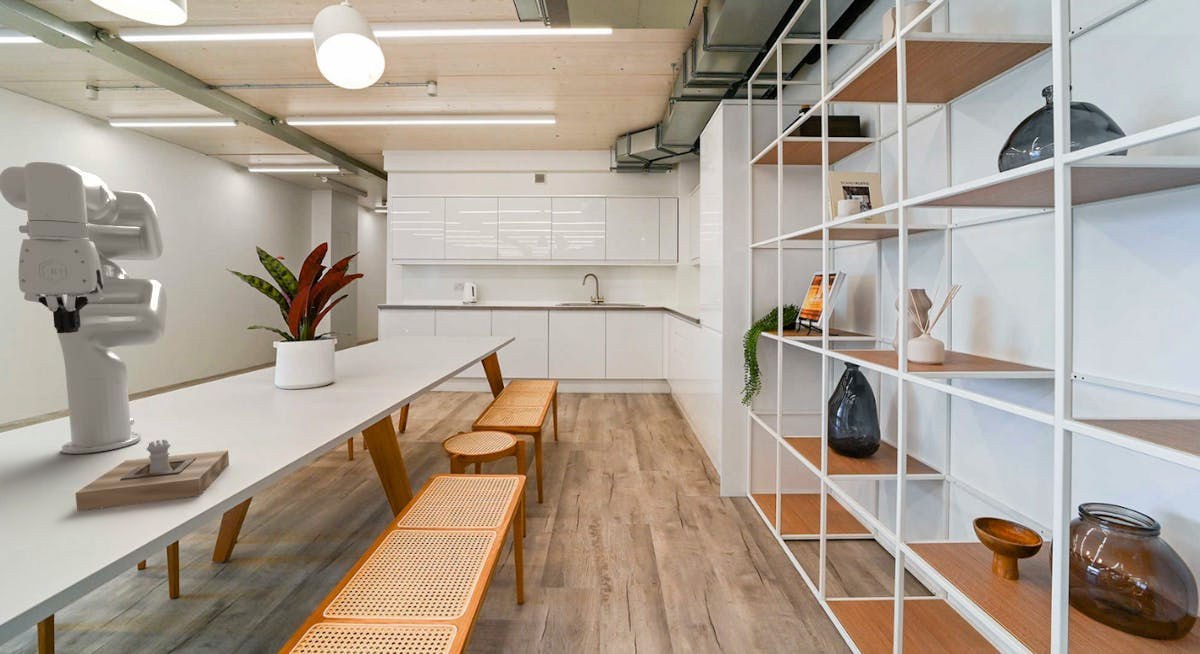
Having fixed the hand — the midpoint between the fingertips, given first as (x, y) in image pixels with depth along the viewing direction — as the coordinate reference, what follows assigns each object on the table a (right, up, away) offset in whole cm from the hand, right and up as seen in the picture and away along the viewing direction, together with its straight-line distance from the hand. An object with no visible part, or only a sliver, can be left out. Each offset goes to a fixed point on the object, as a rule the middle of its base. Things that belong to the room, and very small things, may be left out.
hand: (68, 332), depth 94 cm
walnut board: (+21, -28, -4) cm, 35 cm away
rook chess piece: (+20, -28, -3) cm, 35 cm away
